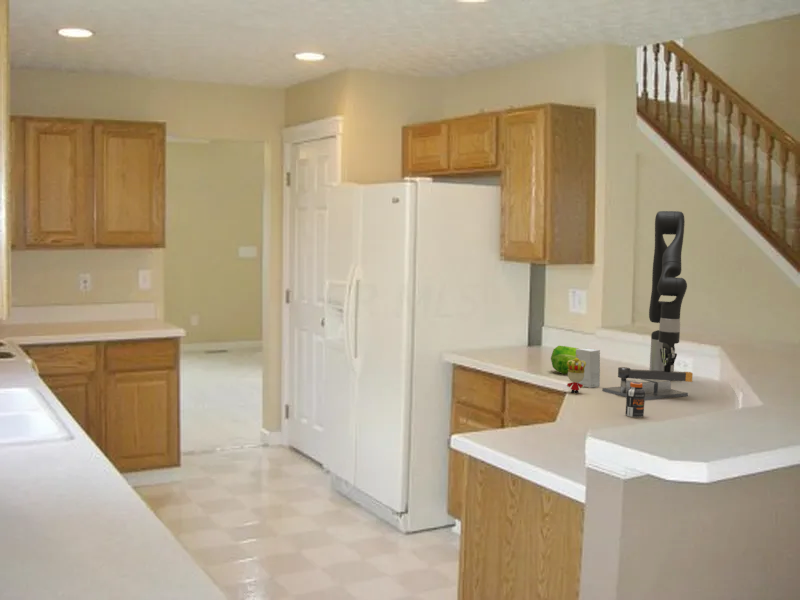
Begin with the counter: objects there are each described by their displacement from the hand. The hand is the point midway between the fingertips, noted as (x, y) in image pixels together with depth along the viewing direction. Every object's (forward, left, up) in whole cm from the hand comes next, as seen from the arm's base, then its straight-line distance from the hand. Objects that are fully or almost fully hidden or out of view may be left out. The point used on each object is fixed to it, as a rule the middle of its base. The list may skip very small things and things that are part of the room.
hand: (666, 375), depth 336 cm
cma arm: (+6, 0, -1) cm, 6 cm away
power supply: (+7, -7, -7) cm, 12 cm away
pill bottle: (+38, +22, -8) cm, 45 cm away
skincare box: (+14, -28, -8) cm, 33 cm away
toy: (+29, -18, -8) cm, 35 cm away
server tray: (+4, -7, -8) cm, 11 cm away
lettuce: (-1, -53, -8) cm, 54 cm away
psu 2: (-2, -7, -7) cm, 10 cm away
